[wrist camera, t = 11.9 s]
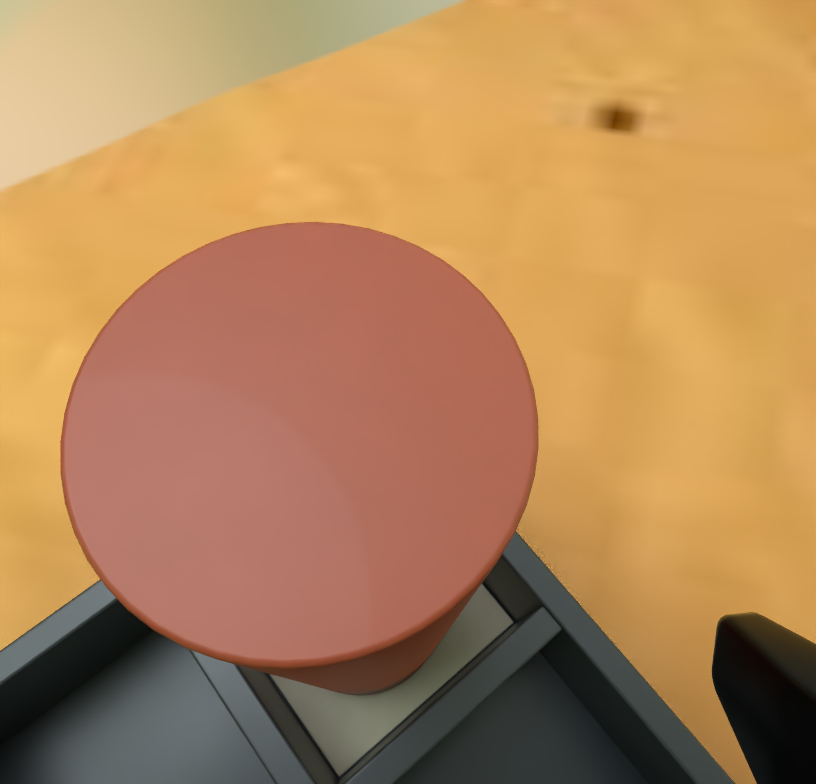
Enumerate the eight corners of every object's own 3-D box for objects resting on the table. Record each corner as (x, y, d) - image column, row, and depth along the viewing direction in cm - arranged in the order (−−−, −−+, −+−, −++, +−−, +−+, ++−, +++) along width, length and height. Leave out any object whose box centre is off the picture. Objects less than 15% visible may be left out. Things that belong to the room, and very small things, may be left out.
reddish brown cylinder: (390, 730, 16) (384, 784, 5) (246, 638, 17) (-50, 495, 6) (471, 576, 18) (615, 339, 6) (336, 498, 18) (244, 158, 7)
